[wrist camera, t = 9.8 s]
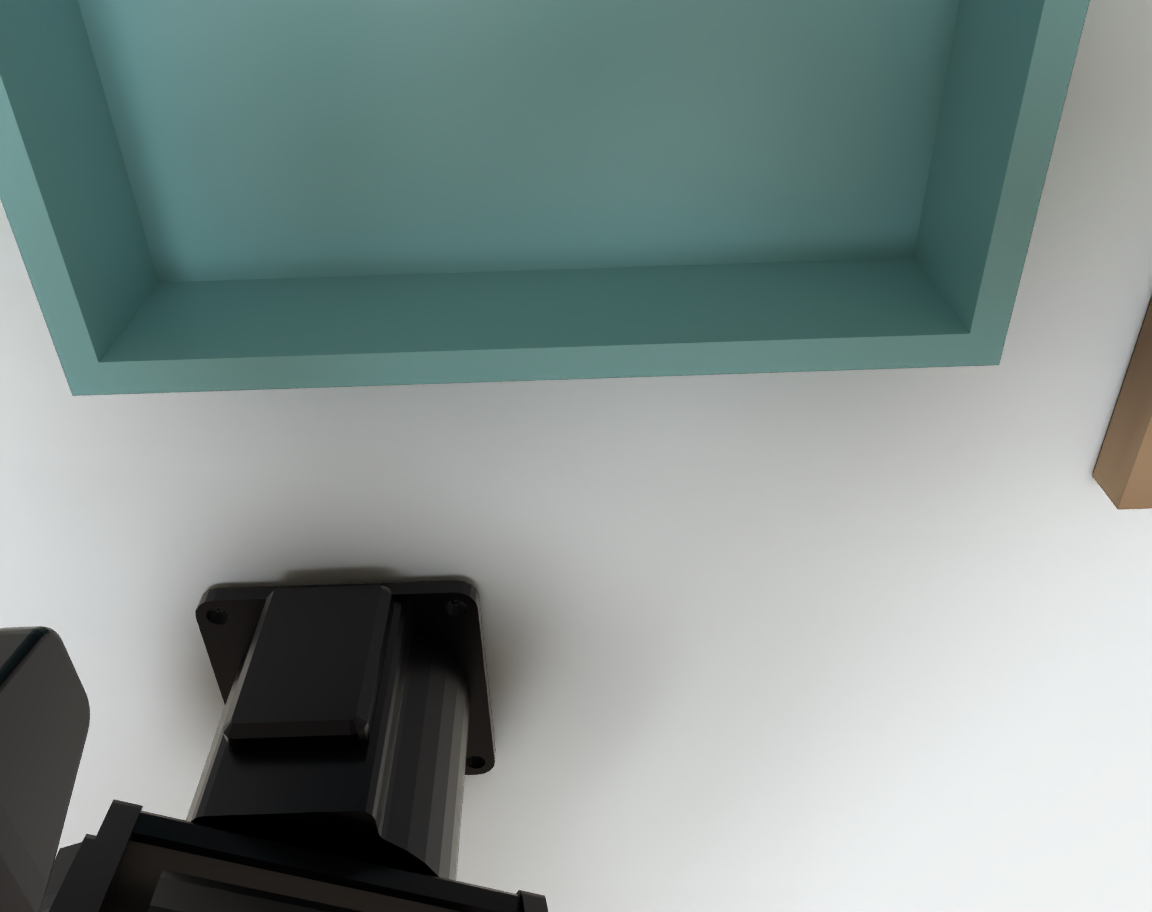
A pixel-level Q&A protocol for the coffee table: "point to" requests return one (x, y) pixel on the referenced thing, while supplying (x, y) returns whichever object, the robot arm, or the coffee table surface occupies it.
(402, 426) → the coffee table surface
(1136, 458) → the pallet
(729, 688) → the coffee table surface
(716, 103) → the tote
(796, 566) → the coffee table surface
